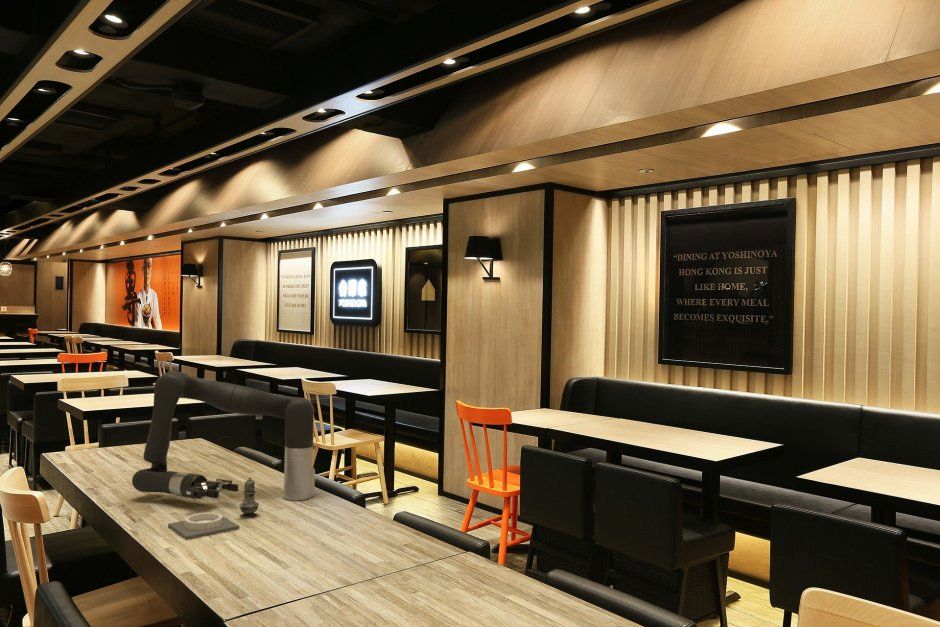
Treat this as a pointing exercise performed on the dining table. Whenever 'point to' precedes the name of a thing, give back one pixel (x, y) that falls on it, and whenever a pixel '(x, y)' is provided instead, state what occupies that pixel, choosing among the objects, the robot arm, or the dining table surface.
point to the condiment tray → (203, 532)
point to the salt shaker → (249, 501)
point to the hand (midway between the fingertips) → (228, 491)
